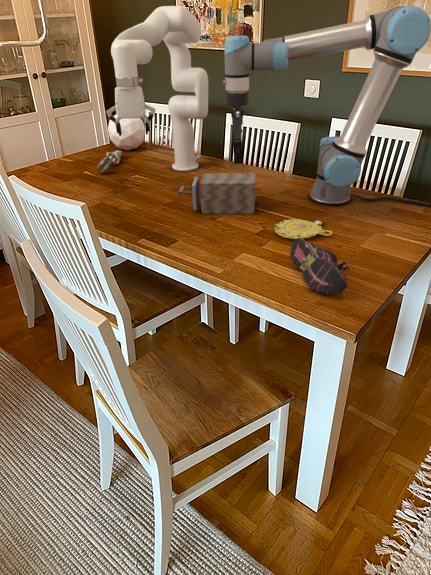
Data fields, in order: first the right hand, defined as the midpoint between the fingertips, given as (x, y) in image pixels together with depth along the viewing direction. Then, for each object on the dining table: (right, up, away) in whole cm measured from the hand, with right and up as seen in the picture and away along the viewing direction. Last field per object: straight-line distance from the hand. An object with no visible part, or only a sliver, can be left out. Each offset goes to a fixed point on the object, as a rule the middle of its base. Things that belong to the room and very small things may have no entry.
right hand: (237, 157), depth 153 cm
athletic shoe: (+22, -42, -31) cm, 57 cm away
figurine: (-58, +14, +62) cm, 86 cm away
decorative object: (+21, -27, -7) cm, 35 cm away
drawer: (-9, -14, +13) cm, 21 cm away
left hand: (-37, +11, +8) cm, 40 cm away
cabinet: (-3, -15, +13) cm, 20 cm away
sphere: (-54, +30, +86) cm, 106 cm away
